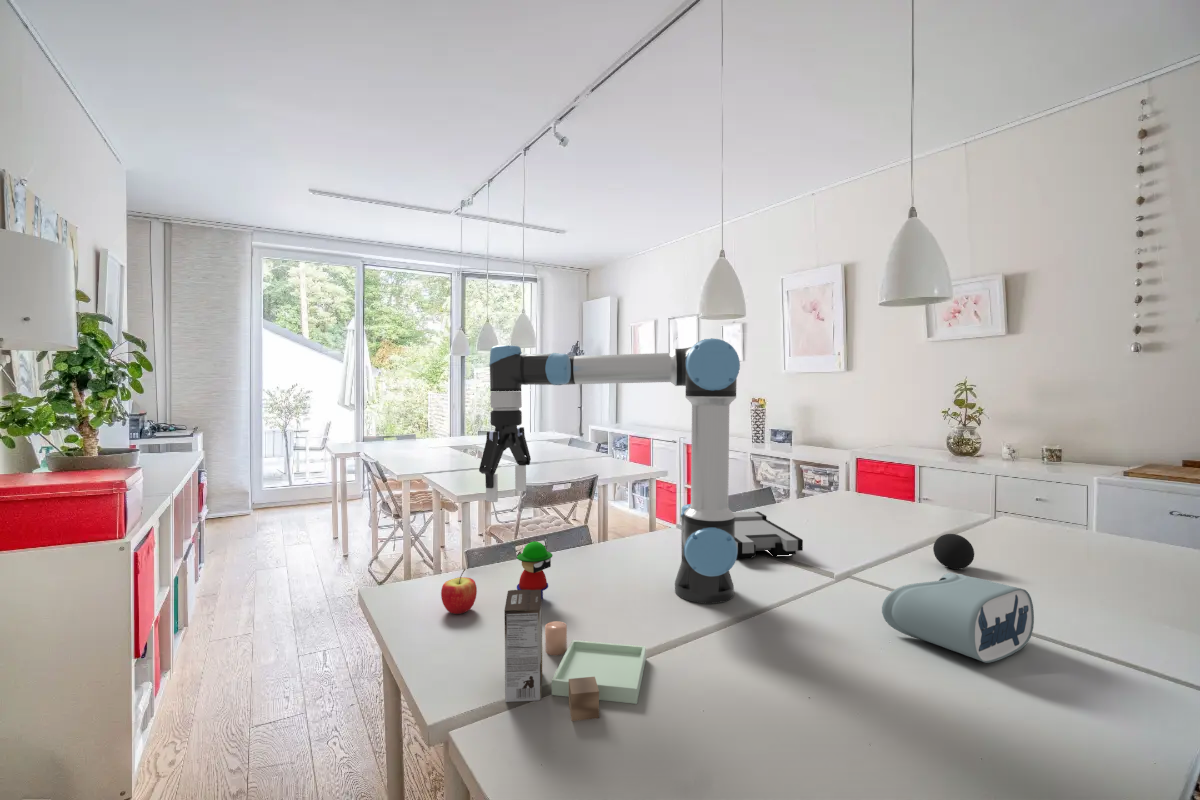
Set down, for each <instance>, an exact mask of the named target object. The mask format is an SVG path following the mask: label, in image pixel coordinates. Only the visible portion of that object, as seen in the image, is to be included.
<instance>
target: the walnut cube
mask: <svg viewBox="0 0 1200 800" xmlns="http://www.w3.org/2000/svg"><path fill="white" fill-rule="evenodd" d="M568 709H569V714H570V719H571V722H575V721H584V720H585V721H586V720H593V719H594V720H595V719H600V700H599V690H598V686H597V683H596V679H595V677H584V678H574V679H569V697H568Z"/></svg>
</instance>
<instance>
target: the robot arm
mask: <svg viewBox="0 0 1200 800" xmlns="http://www.w3.org/2000/svg"><path fill="white" fill-rule="evenodd" d="M740 362H741V361H740V358H739V355H738V352H737V350H736V349H735V348H734V347H733V345H731V344H730V343H729V342H727V341H726V340H723V339H720V338H704V339H702V340H699V341H698V342H696V343H695V344H694V345H692V346H690V347H685V348H674V349H673V350H672V351H671V352H660V353H659V352H658V353H655V352H654V353H631V354H628V353H627V354H625V353H624V354H623V353H622V354H604V355H603V354H602V355H601V354H596V355H568V354H567V353H557V352H553V353H523V352H522V348H521V347H520V346H518V345H503V344H502V345H494V346H492V347H491V349H490V353H489V384H490V385H489V386H490V388H489V392H490V396H489V400H490V408H491V411H490V412H489V413H490V415H489V416H490V425H491V426H493V427H494V430H487V431H486V441H485V445H484V449H483V452H482V457H481V461H480V464H479V468H478V471H479V473H480V474H483V475H485V502H490V503H498V502H499V499H498V498H499V491H498V490H499V487H498V485H499V484H498V480H499V479H498V473H496V471H497V469H498V467H499V464H500V461H501V459H502V456H503V454H504V451H506V450H507V449H508V448H509V450H510V452H511V454H512V456H513V458H514V460H515V462H516V465H514V469H515V470H514V473H515V474H514V477H515V478H514V479H515V481H514V483H515V484H514V485H515V491H516V492H526V491H527V466H529V465H531V454H530V451H529V447H528V443H527V439H526V434H525V427H523V426H521V425H522V423H523V420H522V417H523V415H522V414H523V413H522V410H520V409H521V408H522V403H523V402H522V401H523V400H522V385H524V386H528V385H535V386H536V385H537V386H541V385H543V386H549V385H550V386H551V385H552V386H564V385H568V386H569V385H596V384H598V385H601V384H642V383H643V384H644V383H645V384H646V383H648V384H649V383H671V384H672V385H673V386H674V387H679V386H681V387H683V386H684V387H685V398H686V399H687V400H688V402H690V404H691V454H690V455H691V457H690V459H691V461H690V462H691V463H690V465H691V466H690V467H691V469H690V470H691V471H690V503H689V504H688V503H687V504H684V505H682V507H681V511H680V512H681V514H680V518H681V519H680V520H681V523H680V524H681V525H680V528H681V529H680V530H681V532H680V533H681V537H680V538H681V541H680V542H681V544H680V545H681V546H680V547H681V549H680V550H681V560H680V561H681V562H680V565H679V568H678V571H677V574H676V577H675V581H674V593H675V594H676V596H678V597H680V598H681V599H683V600H686V601H689V602H692V603H699V604H720V603H724V602H727V601H730V600H731V599H733V598H734V596H735V595H734V594H735V589H734V588H735V587H734V582H733V579H732V576H731V573H730V570H731V569H732V568H733V567H734V565H735V564H736V560H738V559H737V552H738V549H737V544H736V542H735V514H734V513H733V512H734V511H732V510H731V509H730V507H729V474H730V473H729V470H730V469H729V467H730V465H729V464H730V461H729V459H730V405H731V404H732V402H734V401H735V400H736V399H737V381H738V379H737V378H738V375H739V373H740V369H741V364H740Z"/></svg>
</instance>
